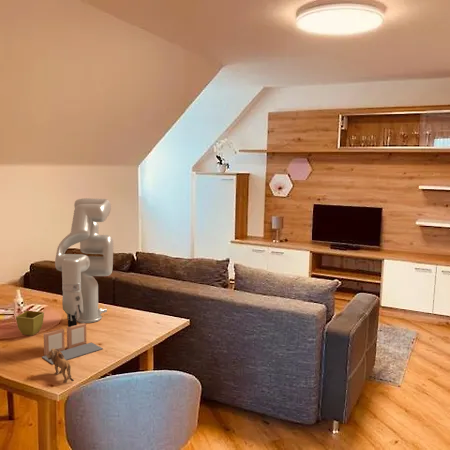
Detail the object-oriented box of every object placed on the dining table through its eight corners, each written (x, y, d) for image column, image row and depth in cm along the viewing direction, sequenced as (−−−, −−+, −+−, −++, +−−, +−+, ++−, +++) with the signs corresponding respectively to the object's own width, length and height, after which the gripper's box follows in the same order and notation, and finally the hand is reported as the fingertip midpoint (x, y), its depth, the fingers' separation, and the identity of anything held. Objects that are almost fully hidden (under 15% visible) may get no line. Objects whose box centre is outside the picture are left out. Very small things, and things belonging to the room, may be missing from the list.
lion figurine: (45, 372, 172) (44, 349, 171) (58, 367, 176) (57, 345, 175) (67, 385, 163) (66, 360, 162) (80, 379, 167) (80, 356, 166)
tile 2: (84, 343, 201) (84, 323, 200) (86, 344, 200) (86, 324, 199) (67, 348, 195) (66, 327, 194) (69, 349, 194) (68, 328, 193)
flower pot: (33, 338, 205) (32, 318, 204) (15, 336, 207) (15, 316, 206) (45, 331, 214) (44, 312, 212) (28, 329, 215) (27, 310, 214)
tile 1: (62, 349, 194) (62, 328, 193) (64, 350, 193) (64, 329, 191) (44, 354, 188) (43, 333, 187) (46, 355, 187) (45, 334, 186)
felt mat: (91, 343, 201) (91, 342, 201) (102, 349, 195) (102, 348, 195) (41, 357, 185) (41, 356, 185) (52, 364, 179) (52, 363, 179)
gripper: (88, 289, 194) (89, 331, 196) (71, 282, 204) (72, 322, 207) (72, 292, 189) (72, 335, 191) (55, 285, 199) (56, 326, 201)
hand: (72, 328), depth 199 cm, fingers closed
